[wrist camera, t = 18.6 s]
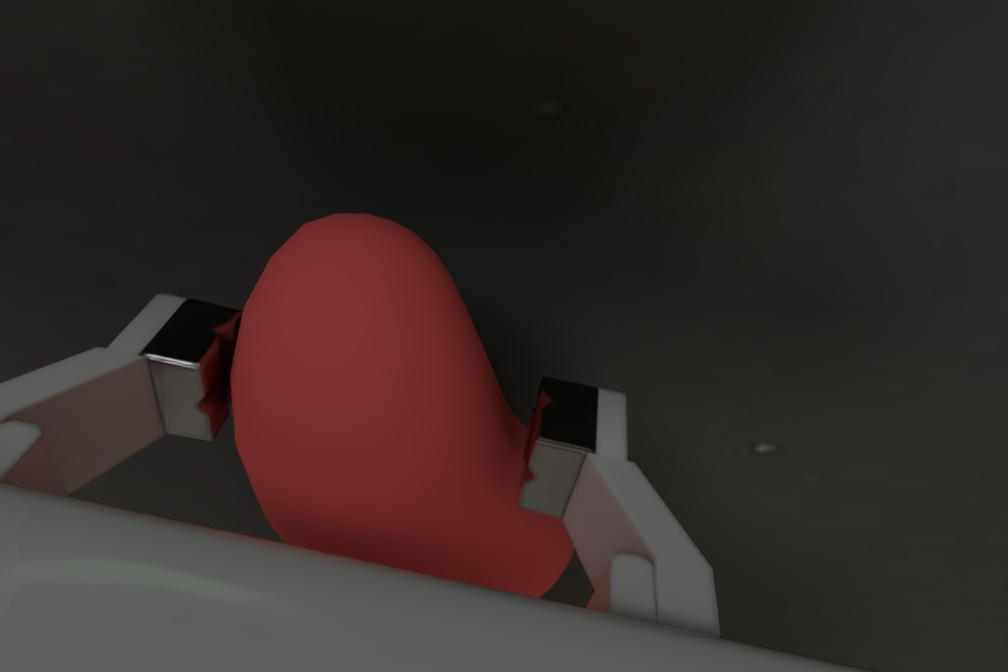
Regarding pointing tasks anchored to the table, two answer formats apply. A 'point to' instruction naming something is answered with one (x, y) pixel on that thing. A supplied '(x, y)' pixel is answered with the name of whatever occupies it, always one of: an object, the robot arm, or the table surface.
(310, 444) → the red bean shape
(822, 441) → the table surface
